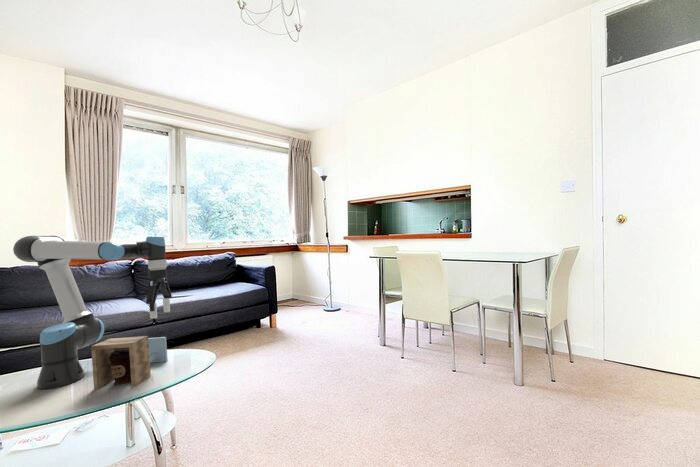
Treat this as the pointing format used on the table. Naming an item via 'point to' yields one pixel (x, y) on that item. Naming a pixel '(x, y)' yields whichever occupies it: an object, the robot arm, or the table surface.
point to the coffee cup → (120, 367)
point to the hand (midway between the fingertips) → (160, 315)
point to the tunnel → (137, 359)
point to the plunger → (157, 349)
